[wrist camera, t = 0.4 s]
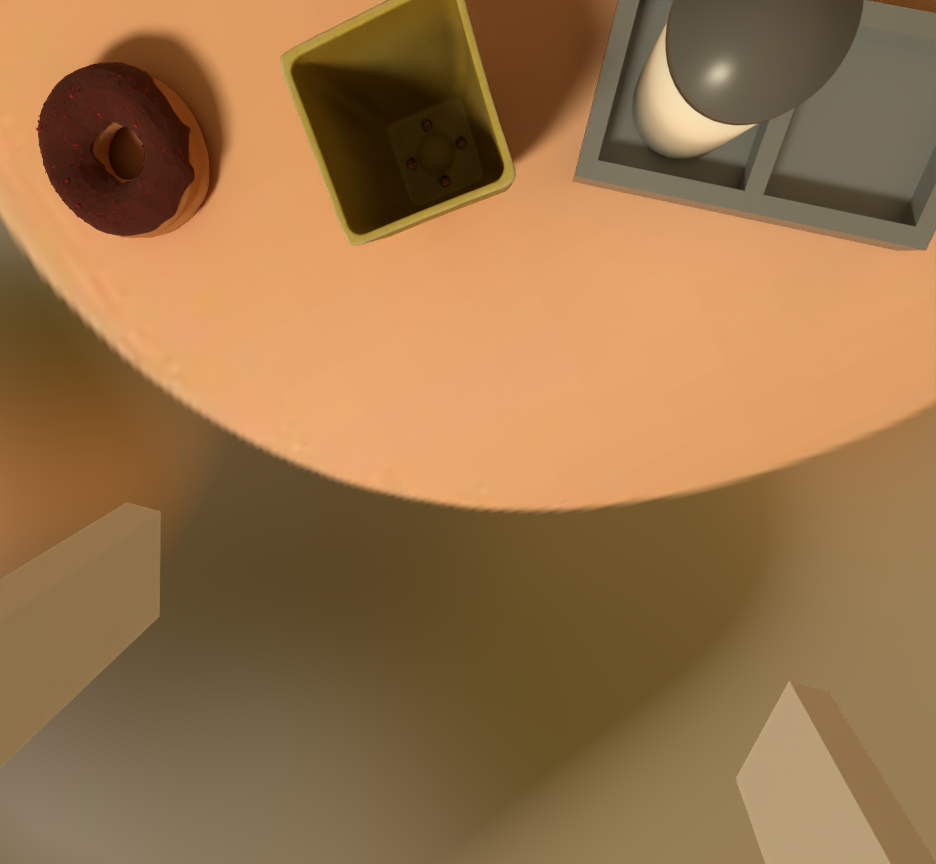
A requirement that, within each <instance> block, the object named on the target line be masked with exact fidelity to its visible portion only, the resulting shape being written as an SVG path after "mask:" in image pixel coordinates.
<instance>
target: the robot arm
mask: <svg viewBox="0 0 936 864" xmlns="http://www.w3.org/2000/svg"><path fill="white" fill-rule="evenodd" d="M160 518H161V511H157V510H153V509H150V508H146V507H142V506H138V505H135V504H131V503H127V502H126V503H125V504H123V505H121V506H120V507H118V508H117V509H115V510H113V511H112V512H110V513H108V514H107V515H105V516H103V517H102V518H100V519H99V520H97V521H95V522H94V523H92V524H90V525H89V526H87V527H85V528H84V529H82V530H80V531H79V532H77V533H75V534H74V535H72V536H70V537H69V538H67V539H66V540H64V541H62V542H61V543H59V544H57V545H56V546H54V547H53V548H51V549H49V550H47V551H46V552H44V553H43V554H41V555H39V556H38V557H36V558H34V559H33V560H31V561H29V562H28V563H26V564H24V565H23V566H21V567H20V568H18V569H16V570H15V571H13V572H11V573H10V574H8V575H6V576H5V577H3V578H1V579H0V767H2V765H4V764H5V763H6V762H7V761H8V760H9V759H10V758H11V757H12V756H13V755H14V754H15V753H16V752H17V751H18V750H19V749H20V748H21V747H23V745H25V744H26V743H27V742H28V741H29V740H30V739H31V738H32V737H33V736H34V735H35V734H36V733H37V732H38V731H39V730H40V729H41V728H42V727H43V726H45V725H46V724H47V723H48V722H49V721H50V720H51V719H52V718H53V717H54V716H55V715H56V714H57V713H58V712H59V711H60V710H61V709H62V708H63V707H65V705H66V704H68V703H69V702H70V701H71V700H72V699H73V698H74V697H75V696H76V695H77V694H78V693H79V692H80V691H81V690H82V689H83V688H84V687H86V685H88V684H89V683H90V682H91V681H92V680H93V679H94V678H95V677H96V676H97V675H98V674H99V673H100V672H101V671H102V670H103V669H104V668H106V666H108V665H109V664H110V663H111V662H112V661H113V660H114V659H115V658H116V657H117V656H118V655H119V654H120V653H121V652H122V651H123V650H124V649H125V648H127V647H128V646H129V645H130V644H131V643H132V642H133V641H134V640H135V639H136V638H137V637H138V636H139V635H140V634H141V633H142V632H143V631H144V630H145V629H146V628H147V627H149V625H151V624H152V623H153V622H154V621H155V620H156V619H157V618H158V617H159V602H160V601H159V599H160V524H161V523H160V522H161V519H160ZM736 781H737V784H738V787H739V789H740V792H741V795H742V798H743V801H744V804H745V806H746V809H747V812H748V815H749V818H750V821H751V824H752V826H753V829H754V832H755V835H756V838H757V841H758V843H759V846H760V849H761V852H762V855H763V858H764V861H765V863H766V864H936V861H935V859H934V858H933V856H932V854H931V853H930V851H929V849H928V848H927V846H926V845H925V843H924V842H923V840H922V838H921V837H920V835H919V834H918V832H917V831H916V829H915V827H914V826H913V824H912V822H911V821H910V819H909V818H908V816H907V815H906V813H905V811H904V810H903V808H902V807H901V805H900V803H899V802H898V800H897V799H896V797H895V795H894V794H893V792H892V791H891V789H890V788H889V786H888V784H887V783H886V781H885V780H884V778H883V776H882V775H881V773H880V772H879V770H878V768H877V767H876V765H875V764H874V762H873V761H872V759H871V757H870V756H869V754H868V753H867V751H866V750H865V748H864V746H863V745H862V743H861V742H860V740H859V739H858V737H857V735H856V734H855V732H854V730H853V729H852V727H851V726H850V724H849V722H848V721H847V719H846V718H845V716H844V715H843V713H842V712H841V710H840V708H839V707H838V705H837V703H836V702H835V700H834V699H833V697H832V696H831V694H830V692H829V691H825V690H822V689H818V688H814V687H810V686H807V685H803V684H800V683H796V682H792V681H789V682H788V684H787V686H786V688H785V690H784V692H783V693H782V695H781V697H780V699H779V701H778V702H777V704H776V706H775V708H774V710H773V712H772V713H771V715H770V717H769V719H768V721H767V723H766V724H765V726H764V728H763V730H762V732H761V734H760V735H759V737H758V739H757V741H756V743H755V745H754V746H753V748H752V750H751V752H750V754H749V755H748V757H747V759H746V761H745V763H744V765H743V766H742V768H741V770H740V772H739V774H738V776H737V777H736Z"/></svg>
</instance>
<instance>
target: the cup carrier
mask: <svg viewBox="0 0 936 864" xmlns="http://www.w3.org/2000/svg"><path fill="white" fill-rule="evenodd" d="M573 182H577V183H582V184H587V185H591V186H596V187H601V188H606V189H610V190H615V191H620V192H624V193H629V194H634V195H639V196H643V197H648V198H653V199H657V200H662V201H667V202H671V203H676V204H681V205H686V206H690V207H695V208H700V209H704V210H709V211H714V212H719V213H723V214H728V215H733V216H737V217H742V218H747V219H752V220H756V221H761V222H766V223H770V224H775V225H780V226H784V227H789V228H794V229H799V230H803V231H808V232H813V233H817V234H822V235H827V236H832V237H836V238H841V239H846V240H850V241H855V242H860V243H865V244H869V245H874V246H879V247H883V248H888V249H893V250H926V249H927V247H928V245H929V243H930V241H931V239H932V237H933V234H934V232H935V230H936V13H934V12H929V11H923V10H918V9H912V8H907V7H901V6H896V5H891V4H885V3H880V2H874V1H869V0H618V3H617V7H616V11H615V15H614V19H613V23H612V27H611V31H610V35H609V39H608V43H607V47H606V51H605V55H604V59H603V63H602V67H601V71H600V75H599V79H598V83H597V87H596V91H595V95H594V99H593V103H592V107H591V111H590V115H589V119H588V123H587V127H586V131H585V135H584V139H583V143H582V147H581V151H580V155H579V159H578V163H577V167H576V171H575V175H574V179H573Z"/></svg>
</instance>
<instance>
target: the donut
mask: <svg viewBox="0 0 936 864" xmlns="http://www.w3.org/2000/svg"><path fill="white" fill-rule="evenodd" d="M43 105H44V106H43V108H42V110H41V114H40V120H38V123H39V125H38V126H39V127H38V128H36V130H37V131H38V137H39V144H38V145H39V146H40V150H41V152H40V153H41V154H42V158H43V165H44V167H45V170H46V172H47V174H48V177H49V179H50V182H51V185H53V187H54V188H55V191H56V192H57V193H58V194H59V196H60V198H62V200H63V201H64V203H65V204H66V205H67V206H68V207H69V209H71V210H72V211H73V212H74V213H75V214H76V215H77V216H78V218H79V217H80V218H81V219H83V220H84V222H86V223H88V224H90V225H91V226H93V227H94V228H95V229H97V230H99V231H102V232H105V233H107V234H108V233H109V234H113V235H116V236H120V237H129V238H137V237H139V238H150V237H156V236H159V235H163V234H166V233H170V232H172V231H174V230H176V229H178V228H179V227H181V226H182V225H184V224H185V223H186V222H188V221H189V220H190V219H191V218H192V217H193V216H194V214H195V213H196V211H197V210H198V208H199V207H200V205H201V204H202V202H203V201H204V199H205V197H206V194H207V192H208V187H209V157H208V152H207V148H206V144H205V140H204V137H203V134H202V132H201V129H200V127H199V125H198V122H197V121H196V119H195V117H194V116H193V114H192V112H191V111H190V109H189V108H188V107H187V105H186V104H185V103H184V102H183V100H182V99H181V98H180V97H179V96H178V95H177V94H176V93H175V92H174V91H173V90H172V89H171V88H169V87H168V86H167V85H166V84H165V83H163V82H162V81H160V80H158V79H156V78H154V77H152V76H150V75H149V74H147V73H146V72H144V71H142V70H140V69H138V68H136V67H133V66H130V65H127V64H124V63H117V62H116V63H99V64H93V65H90V66H87V67H84V68H81V69H78V70H76V71H74V72H73V73H71V74H69V75H67V76H65V77H64V78H63V79H62V80H61V81H60V82H58V83H57V85H56V86H55V87H54V89H52V92H51V93H50V95H49V96H48V98H47V100H46V102H45V103H44V104H43ZM121 127H127V128H129V129H131V130H133V131H134V132H135V134H136V135H137V136H138V137H139V139H140V140H141V141H142V143H143V145H142V146H143V148H144V154H145V159H144V160H143V162H144V165H143V167H142V168H143V169H142V171H141V173H140V174H139V175H138V176H136V177H135V178H134V179H131V180H126V179H122V178H120V177H118V176H117V175H116V174H115V172H114V171H113V169H112V167H111V163H110V159H109V149H110V145H111V141H112V139H113V137H114V135H115V134H116V132H117V131H118V130H119V129H120V128H121Z"/></svg>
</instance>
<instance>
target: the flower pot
mask: <svg viewBox="0 0 936 864" xmlns="http://www.w3.org/2000/svg"><path fill="white" fill-rule="evenodd" d="M280 61H281V68H282V72H283V75H284V78H285V81H286V83H287V86H288V88H289V91H290V94H291V96H292V99H293V102H294V104H295V107H296V109H297V112H298V115H299V117H300V120H301V122H302V125H303V127H304V130H305V133H306V135H307V138H308V141H309V143H310V146H311V149H312V151H313V154H314V157H315V159H316V161H317V164H318V167H319V169H320V172H321V175H322V177H323V180H324V183H325V186H326V188H327V191H328V193H329V196H330V199H331V202H332V204H333V207H334V210H335V213H336V215H337V218H338V221H339V223H340V226H341V228H342V230H343V233H344V235H345V237H346V239H347V240H348V242H349V243H350V244H351V245H354V246H356V245H361V244H365V243H368V242H371V241H375V240H379V239H383V238H387V237H390V236H393V235H395V234H397V233H400V232H402V231H404V230H407V229H409V228H412V227H414V226H417V225H419V224H421V223H424V222H426V221H429V220H431V219H434V218H436V217H439V216H442V215H444V214H447V213H449V212H452V211H455V210H457V209H460V208H463V207H465V206H468V205H470V204H473V203H476V202H478V201H481V200H484V199H486V198H489V197H492V196H495V195H497V194H500V193H502V192H505V191H506V190H508V189H509V187H510V186H511V185H512V183H513V181H514V179H515V167H514V164H513V161H512V158H511V155H510V151H509V148H508V145H507V142H506V139H505V136H504V133H503V130H502V127H501V124H500V121H499V117H498V114H497V111H496V108H495V105H494V101H493V98H492V95H491V91H490V88H489V85H488V81H487V78H486V74H485V71H484V67H483V64H482V60H481V56H480V53H479V49H478V45H477V42H476V38H475V34H474V31H473V27H472V24H471V20H470V16H469V13H468V9H467V5H466V2H465V0H387V1H385V2H383V3H381V4H379V5H377V6H375V7H373V8H371V9H369V10H367V11H365V12H363V13H361V14H359V15H357V16H355V17H353V18H351V19H349V20H347V21H345V22H343V23H341V24H339V25H337V26H335V27H334V28H332V29H329V30H327V31H325V32H323V33H321V34H319V35H317V36H315V37H313V38H311V39H309V40H307V41H305V42H303V43H301V44H299V45H297V46H295V47H294V48H292V49H290V50H289V51H287V52H286V53H284V54H283V55H282V56H281V58H280ZM425 121H430V122H431V124H432V127H431V129H430V130H429V131H425V130H424V129H423V123H424V122H425ZM460 138H462V139H464V140H465V142H466V144H465V147H464V148H462V149H459V148H458V147H457V145H456V142H457V140H458V139H460ZM410 159H414V160H415V161H416V167H415V168H414V169H410V168H409V167H408V161H409V160H410ZM443 176H447V177H448V178H449V180H450V182H449V184H448V185H447V186H443V185H442V184H441V178H442V177H443Z"/></svg>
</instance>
